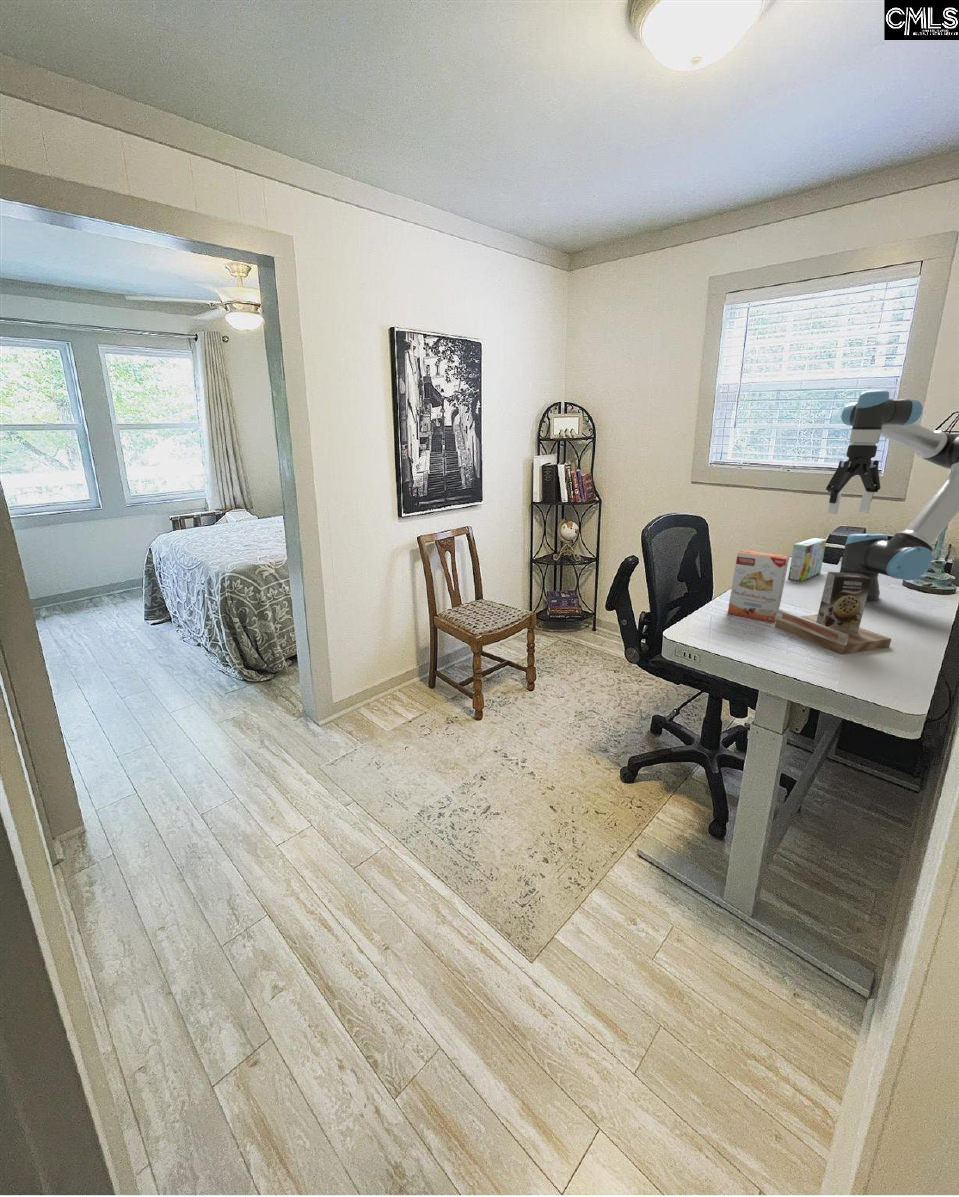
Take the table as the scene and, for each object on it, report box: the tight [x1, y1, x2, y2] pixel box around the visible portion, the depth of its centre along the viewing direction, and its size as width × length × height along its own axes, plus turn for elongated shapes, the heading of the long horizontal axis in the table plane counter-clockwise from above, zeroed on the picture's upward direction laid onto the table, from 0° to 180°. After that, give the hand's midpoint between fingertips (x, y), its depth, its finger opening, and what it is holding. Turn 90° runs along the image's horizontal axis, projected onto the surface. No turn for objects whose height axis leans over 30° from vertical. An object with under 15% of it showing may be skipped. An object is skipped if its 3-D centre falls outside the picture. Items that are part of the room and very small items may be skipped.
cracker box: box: [727, 549, 790, 623], centre depth 168 cm, size 14×6×21 cm, turn 52°
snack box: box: [787, 537, 827, 582], centre depth 219 cm, size 21×6×15 cm, turn 130°
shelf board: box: [774, 609, 892, 655], centre depth 154 cm, size 18×22×6 cm
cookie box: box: [816, 571, 871, 632], centre depth 152 cm, size 9×6×16 cm
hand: (848, 512), depth 170 cm, fingers open, 13 cm apart
